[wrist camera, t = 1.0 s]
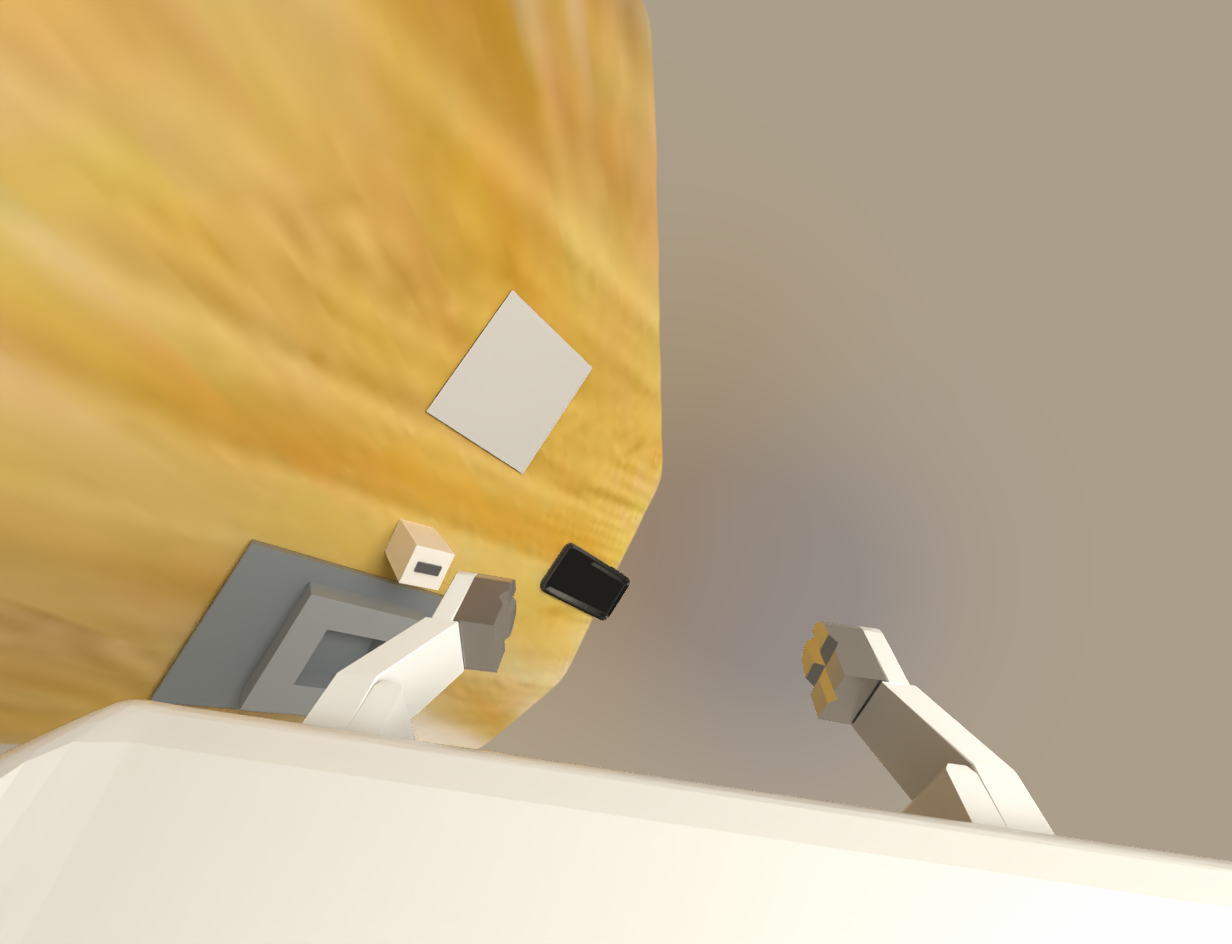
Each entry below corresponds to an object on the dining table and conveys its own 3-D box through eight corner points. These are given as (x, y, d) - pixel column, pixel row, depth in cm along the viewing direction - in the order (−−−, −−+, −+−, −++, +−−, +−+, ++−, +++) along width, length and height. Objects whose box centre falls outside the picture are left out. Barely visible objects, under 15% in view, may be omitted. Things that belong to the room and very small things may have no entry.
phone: (605, 622, 71) (539, 589, 62) (601, 618, 72) (536, 585, 63) (632, 580, 72) (571, 541, 63) (628, 577, 73) (567, 538, 64)
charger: (384, 551, 49) (399, 584, 43) (400, 518, 49) (417, 546, 43) (419, 559, 52) (439, 591, 45) (434, 527, 52) (455, 555, 45)
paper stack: (632, 408, 65) (635, 408, 64) (538, 555, 62) (540, 557, 61) (509, 290, 50) (512, 289, 50) (379, 474, 47) (380, 476, 47)
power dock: (152, 694, 40) (141, 724, 37) (252, 539, 42) (250, 555, 39) (403, 718, 55) (410, 740, 52) (470, 603, 57) (480, 618, 54)
